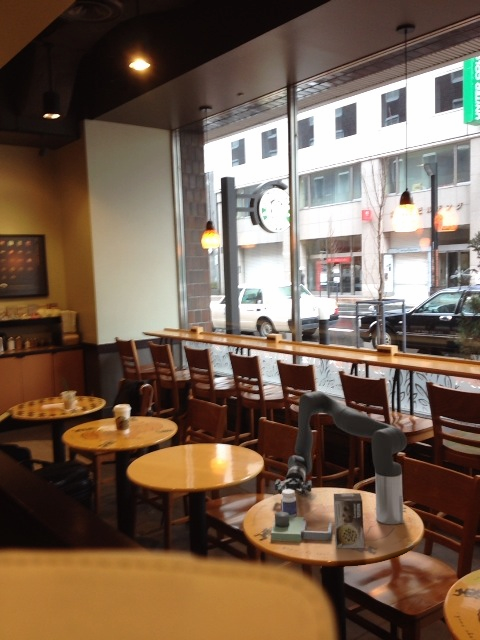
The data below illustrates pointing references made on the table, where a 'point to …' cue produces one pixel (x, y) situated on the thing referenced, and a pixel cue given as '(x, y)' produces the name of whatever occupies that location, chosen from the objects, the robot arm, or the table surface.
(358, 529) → the coffee box
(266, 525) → the table surface
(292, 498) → the pill bottle
